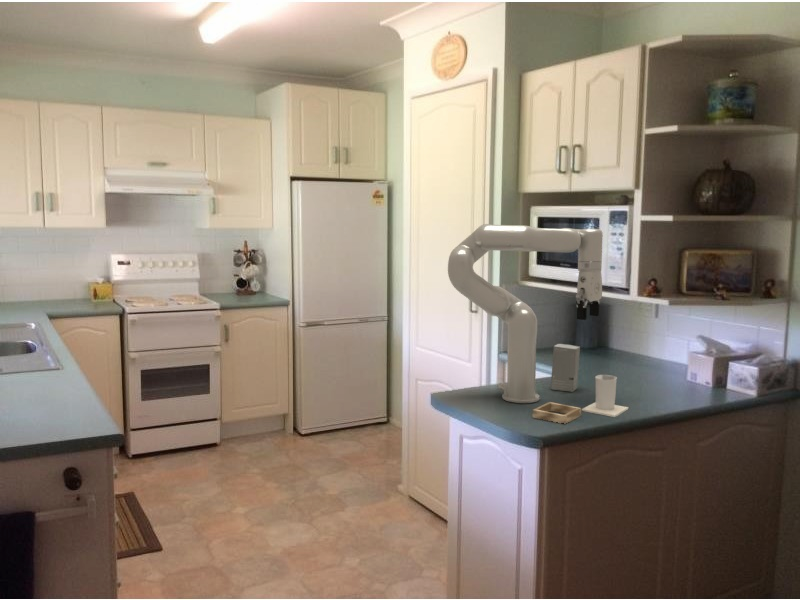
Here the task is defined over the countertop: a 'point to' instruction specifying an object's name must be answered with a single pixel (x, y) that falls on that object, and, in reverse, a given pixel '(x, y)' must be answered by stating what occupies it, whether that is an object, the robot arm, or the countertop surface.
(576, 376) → the skincare box
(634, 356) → the countertop surface
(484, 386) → the countertop surface
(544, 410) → the wooden frame
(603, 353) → the countertop surface
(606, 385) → the drinking glass
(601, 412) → the coaster
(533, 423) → the countertop surface
